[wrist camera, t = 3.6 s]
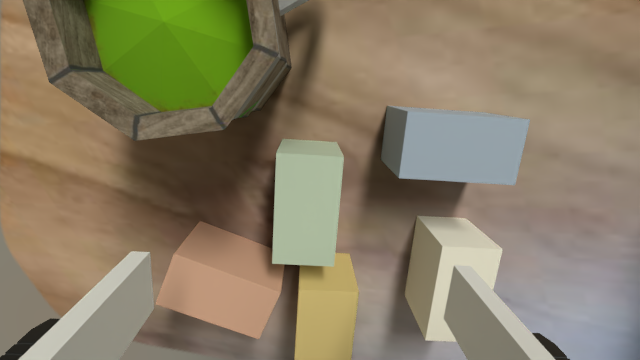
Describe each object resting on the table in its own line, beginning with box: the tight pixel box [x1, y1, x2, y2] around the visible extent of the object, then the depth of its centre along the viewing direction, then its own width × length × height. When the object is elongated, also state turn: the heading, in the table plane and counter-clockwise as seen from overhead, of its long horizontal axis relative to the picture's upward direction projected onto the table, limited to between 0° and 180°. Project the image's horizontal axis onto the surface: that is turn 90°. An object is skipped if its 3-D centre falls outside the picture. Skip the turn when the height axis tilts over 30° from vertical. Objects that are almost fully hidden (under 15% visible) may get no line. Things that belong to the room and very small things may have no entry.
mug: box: [23, 0, 308, 141], centre depth 20 cm, size 16×11×12 cm
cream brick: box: [405, 216, 503, 342], centre depth 28 cm, size 8×4×6 cm, turn 176°
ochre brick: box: [294, 253, 359, 360], centre depth 29 cm, size 8×4×6 cm, turn 176°
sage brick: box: [272, 139, 344, 267], centre depth 26 cm, size 8×4×6 cm, turn 176°
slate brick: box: [381, 106, 530, 185], centre depth 25 cm, size 8×4×6 cm, turn 86°
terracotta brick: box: [156, 221, 285, 339], centre depth 28 cm, size 8×4×6 cm, turn 66°
